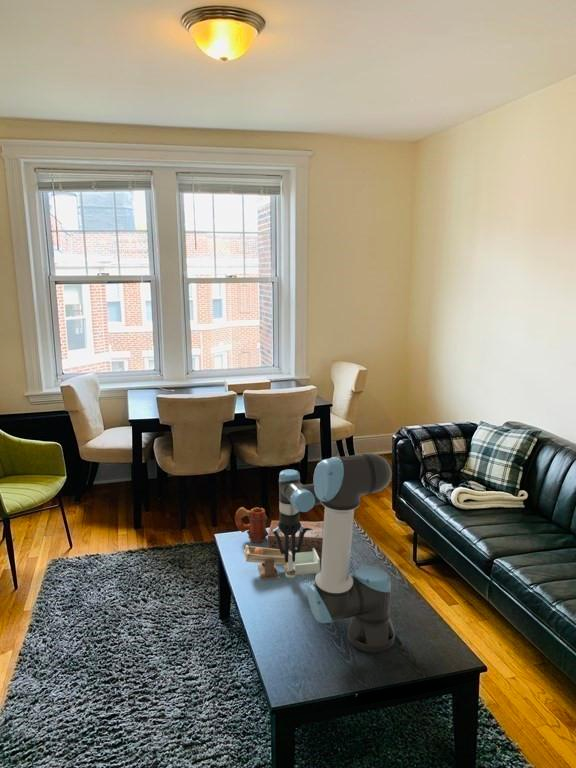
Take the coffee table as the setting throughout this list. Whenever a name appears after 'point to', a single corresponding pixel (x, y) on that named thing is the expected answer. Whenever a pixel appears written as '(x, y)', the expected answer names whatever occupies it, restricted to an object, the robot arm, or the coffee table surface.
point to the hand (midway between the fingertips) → (289, 569)
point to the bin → (306, 563)
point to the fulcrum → (268, 570)
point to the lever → (268, 558)
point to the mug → (253, 523)
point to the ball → (258, 551)
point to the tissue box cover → (310, 539)
